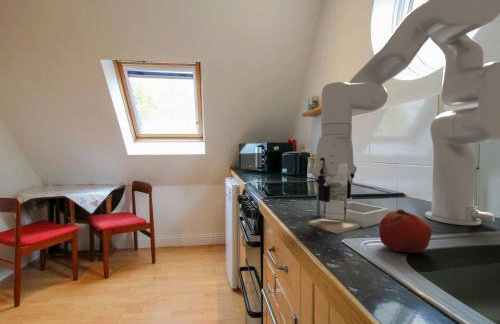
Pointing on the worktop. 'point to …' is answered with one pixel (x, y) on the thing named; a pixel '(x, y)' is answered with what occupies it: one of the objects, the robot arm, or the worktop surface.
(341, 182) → the syrup box
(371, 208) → the case
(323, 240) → the worktop surface
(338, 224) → the plate
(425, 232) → the tomato
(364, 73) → the robot arm
